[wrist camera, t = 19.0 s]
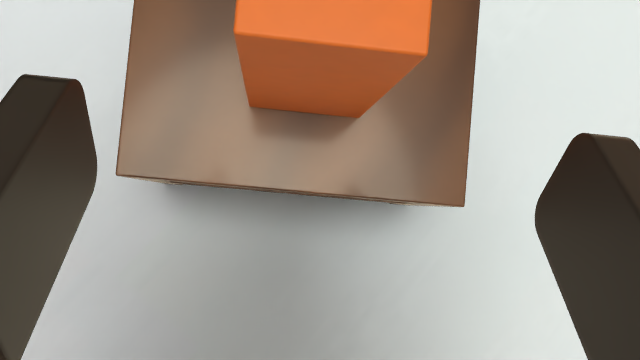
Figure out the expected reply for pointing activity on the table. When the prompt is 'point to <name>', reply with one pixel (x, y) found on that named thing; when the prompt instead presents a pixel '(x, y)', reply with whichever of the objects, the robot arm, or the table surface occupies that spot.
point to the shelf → (292, 115)
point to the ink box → (328, 51)
